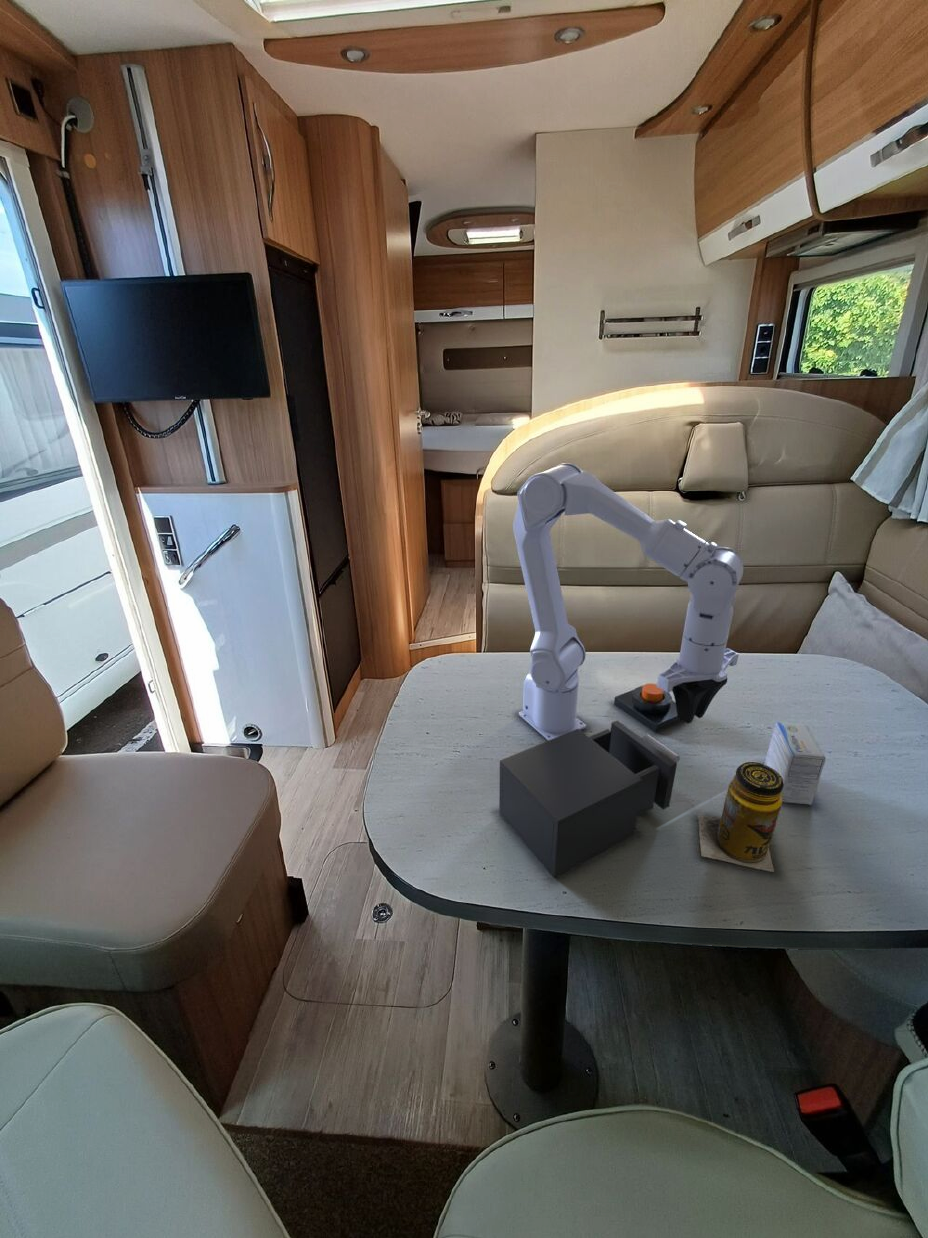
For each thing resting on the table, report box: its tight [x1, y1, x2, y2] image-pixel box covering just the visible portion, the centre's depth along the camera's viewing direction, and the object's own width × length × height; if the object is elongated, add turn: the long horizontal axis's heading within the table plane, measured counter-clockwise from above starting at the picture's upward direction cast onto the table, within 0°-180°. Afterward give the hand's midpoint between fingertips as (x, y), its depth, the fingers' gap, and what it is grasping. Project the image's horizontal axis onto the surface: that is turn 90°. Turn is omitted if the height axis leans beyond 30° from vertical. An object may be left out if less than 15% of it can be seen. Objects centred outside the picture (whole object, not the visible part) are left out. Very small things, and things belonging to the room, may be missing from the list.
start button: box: [642, 683, 664, 702], centre depth 99 cm, size 4×4×2 cm
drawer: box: [588, 720, 681, 818], centre depth 79 cm, size 17×11×8 cm
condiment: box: [697, 761, 784, 873], centre depth 71 cm, size 7×8×12 cm
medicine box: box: [764, 721, 826, 806], centre depth 81 cm, size 8×4×9 cm, turn 168°
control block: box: [613, 684, 684, 734], centre depth 100 cm, size 10×8×4 cm
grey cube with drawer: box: [498, 729, 642, 879], centre depth 75 cm, size 14×13×10 cm
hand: (689, 716), depth 83 cm, fingers closed
